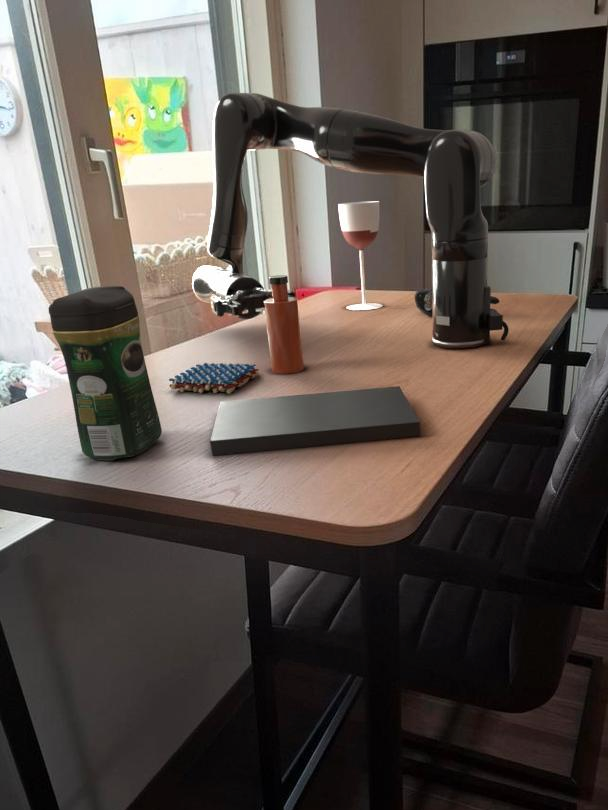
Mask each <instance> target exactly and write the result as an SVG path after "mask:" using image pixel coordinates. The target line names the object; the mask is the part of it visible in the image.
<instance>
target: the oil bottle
mask: <svg viewBox="0 0 608 810" xmlns="http://www.w3.org/2000/svg"><path fill="white" fill-rule="evenodd" d="M288 278H289V277H288V275H287V274H280V275H279V274H277V275H271V276H269V277H268V279H269V285H270V286H271V288H270V289H271V290H272V297H273V298H271V299H267V300H265V301H264V307H265V310H264V315H265V324H266V333H267V341H268V349H269V351H268V352H269V359H270V369H271V372H272V373H274V374H277V375H278V374H279V375H288V374H294V373H299V372H301V371H303V370H304V369H305V364H304V363H305V361H304V351H303V342H302V341H303V340H302V332H301V331H302V330H301V321H300V310H299V300H298V298H297V297H296V296H295V297H296V298H295V297H288V290H289V289H288V283H289V279H288ZM287 289H288V290H287Z"/></svg>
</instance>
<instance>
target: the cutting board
mask: <svg viewBox="0 0 608 810" xmlns="http://www.w3.org/2000/svg"><path fill="white" fill-rule="evenodd" d="M214 421H215V422H214V425H213V427H212V433H211V437H210V440H209V444H210V450H211V455H212V456H224V455H234V454H235V455H236V454H243V453H244V454H246V453H256V452H266V451H267V452H268V451H276V450H287V449H299V448H307V447H309V448H310V447H321V446H330V445H342V444H352V443H353V444H354V443H363V442H364V443H365V442H372V441H373V442H374V441H382V440H384V441H385V440H395V439H404V438H416V437H420V436H421V421H420V420H419V418H418V415H416V413H415V411H414V409H413V407H412V406H411V403H410V402H409V401H408V398H407V397H406V395H405V393H404V391H403V389H402V388H401V386H400V385H395V386H384V387H373V388H363V389H360V388H359V389H352V390H351V389H350V390H338V391H330V392H329V391H327V392H317V393H305V394H294V395H292V394H291V395H281V396H271V397H270V396H269V397H258V398H249V399H248V398H247V399H236V400H224V401H220V402H219V406H218V409H217V414H216V417H215V420H214Z"/></svg>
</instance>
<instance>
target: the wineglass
mask: <svg viewBox="0 0 608 810" xmlns="http://www.w3.org/2000/svg"><path fill="white" fill-rule="evenodd" d="M337 207H338V217H339V223H340V224H339V225H340V228H341V232H342V237H343V238H344V240H345V241H346V242H347V243H348V244H349V245H351V246H352V247H354V248H355V249H357V250H358V251H359V266H360V282H361V301H362V303H356V304H351V305H348V306H346V309H347V310H351V311H368V310H369V311H371V310H376V309H380V308H383V306H384V305H383V304H382V303H375V302H374V303H372V302H367V295H366V293H367V292H366V275H365V259H364V257H365V256H364V250H365V249H366V248H368V247H369V246H370V245H371V244H372V243H373V242H374V241H375V240H376V238H377V236H378V233H379V227H380V201H379V200H374V201H373V200H370V201H369V200H368V201H366V200H365V201H352V202H342V203H338V204H337Z"/></svg>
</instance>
